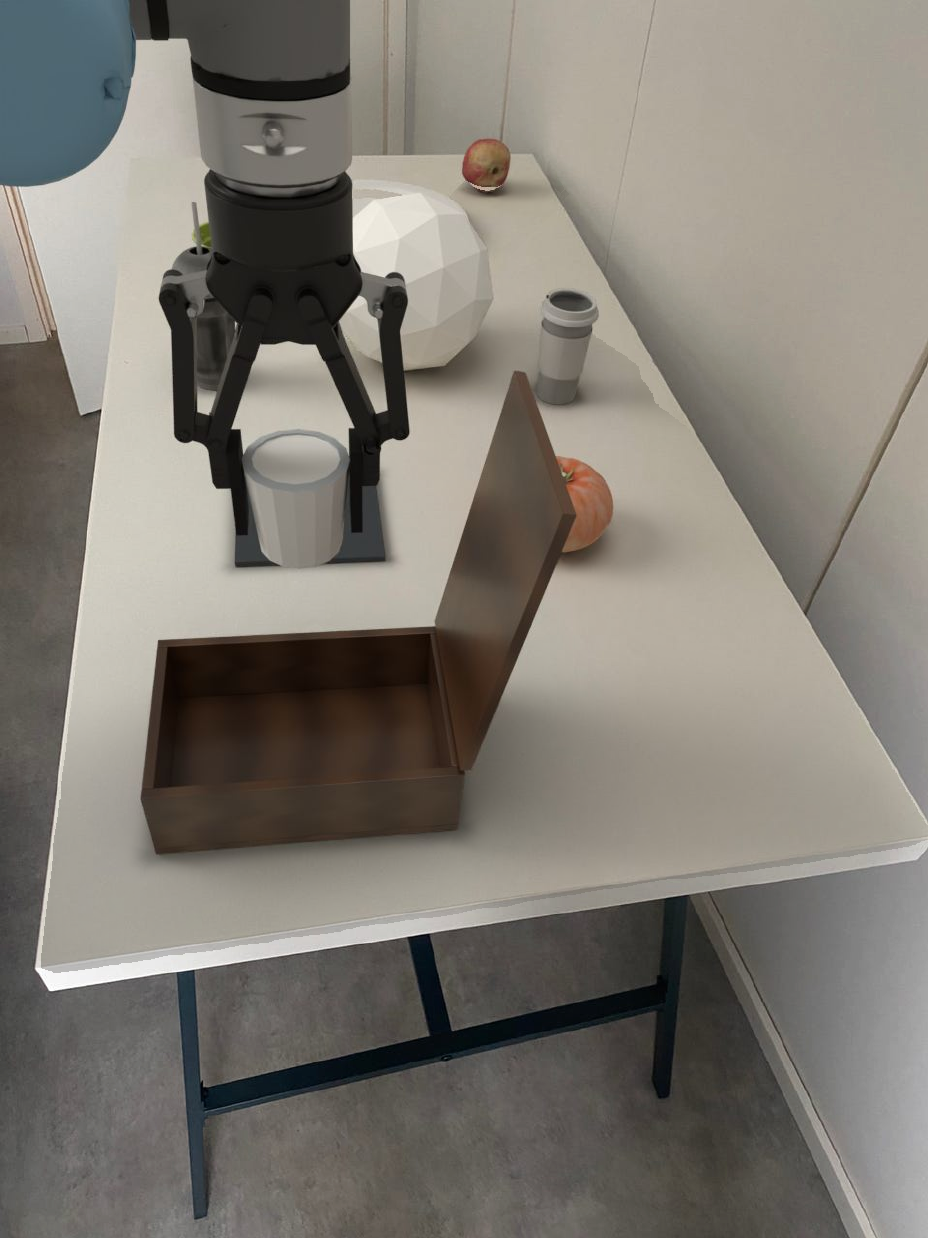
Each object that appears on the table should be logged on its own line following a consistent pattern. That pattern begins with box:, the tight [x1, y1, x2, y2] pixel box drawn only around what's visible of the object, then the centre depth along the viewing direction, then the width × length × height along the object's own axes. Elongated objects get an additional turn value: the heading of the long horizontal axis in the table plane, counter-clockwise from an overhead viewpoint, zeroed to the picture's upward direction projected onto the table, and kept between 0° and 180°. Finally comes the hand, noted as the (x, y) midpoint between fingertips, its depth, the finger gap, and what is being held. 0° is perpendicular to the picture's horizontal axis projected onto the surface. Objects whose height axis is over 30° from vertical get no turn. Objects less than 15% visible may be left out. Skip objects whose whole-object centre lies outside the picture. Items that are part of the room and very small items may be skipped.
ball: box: [339, 193, 495, 372], centre depth 113 cm, size 19×20×20 cm
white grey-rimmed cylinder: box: [242, 428, 350, 570], centre depth 64 cm, size 7×7×7 cm
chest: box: [140, 625, 466, 855], centre depth 72 cm, size 22×15×7 cm
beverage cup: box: [171, 201, 236, 391], centre depth 105 cm, size 7×7×20 cm
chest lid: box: [434, 370, 577, 772], centre depth 64 cm, size 23×15×1 cm
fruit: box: [461, 138, 512, 194], centre depth 157 cm, size 8×8×8 cm
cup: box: [536, 287, 600, 406], centre depth 112 cm, size 7×7×12 cm
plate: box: [351, 178, 470, 222], centre depth 144 cm, size 28×28×2 cm
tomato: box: [555, 455, 614, 553], centre depth 94 cm, size 11×11×8 cm
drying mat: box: [234, 478, 386, 568], centre depth 96 cm, size 14×14×1 cm
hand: (299, 520), depth 65 cm, fingers closed on white grey-rimmed cylinder, 7 cm apart
